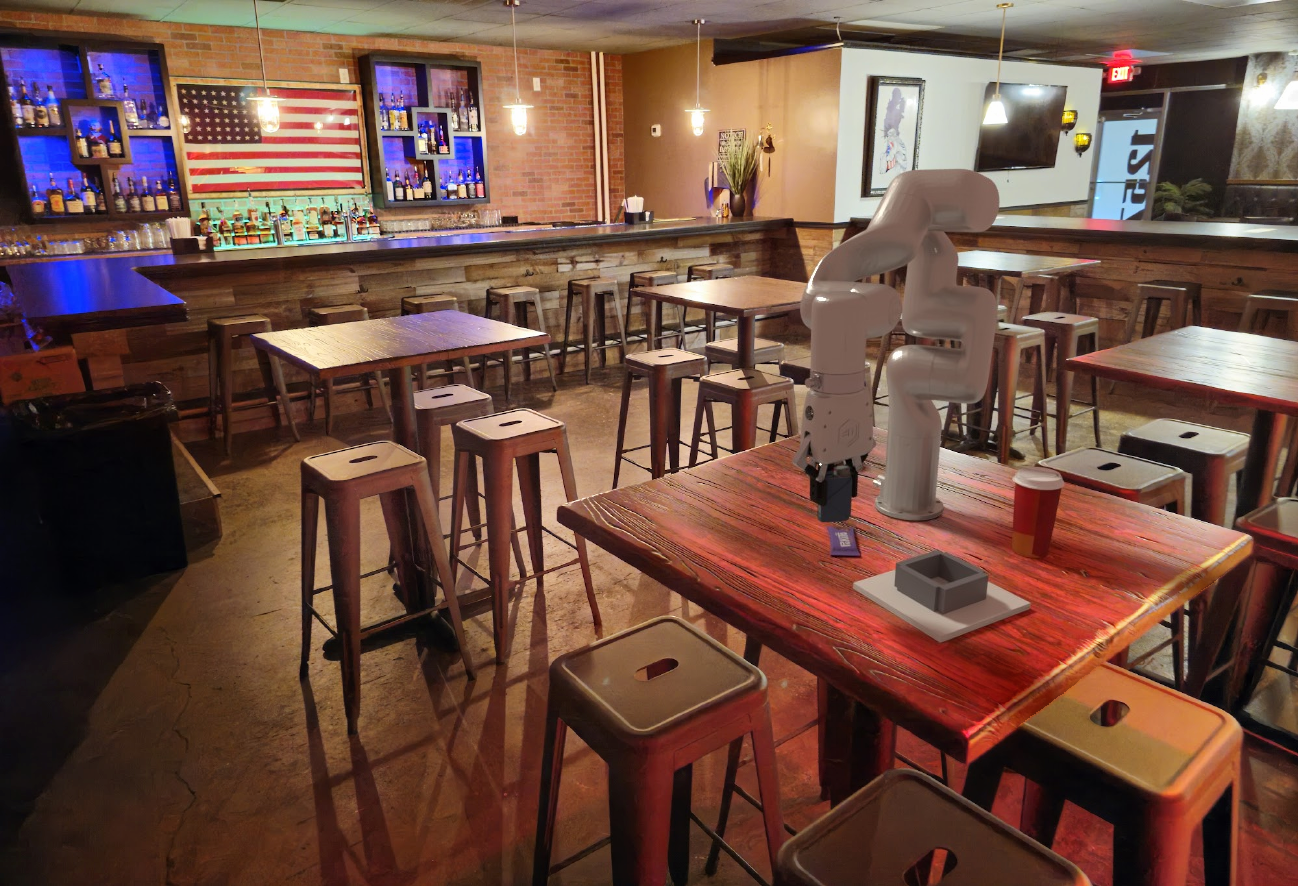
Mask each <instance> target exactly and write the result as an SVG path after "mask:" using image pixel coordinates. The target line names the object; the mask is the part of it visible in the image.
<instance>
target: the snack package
mask: <svg viewBox="0 0 1298 886" xmlns="http://www.w3.org/2000/svg"><path fill="white" fill-rule="evenodd" d="M826 530H827V532H828V535H829V541H830V542H829V543H830V552H829V555H830V556H853V557H854V556H857V557H858V556H859V557H860V556H861V554H860V552H859V550H858V546H857V543H856V538H855V533H854V531H855V527H854V526H852V527H851V526H826Z"/></svg>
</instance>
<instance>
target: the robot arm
mask: <svg viewBox="0 0 1298 886" xmlns="http://www.w3.org/2000/svg"><path fill="white" fill-rule="evenodd" d="M999 209H1000V193H999V190H998V187H997V185H996V183H995V182H994V181H993V180H992V179H991V178H989V177H988V176H985V175H983V174H981V173H980V172H976V171H974V170H971V169H965V168H941V169H940V168H939V169H938V168H937V169H936V168H935V169H934V168H932V169H912V170H907V171H904V172H902V173H899V174H898V175H897V176H895V177H894V178H893V179H892V180H891V182H890V183H889V184H888V186H887V188H886V190H885V192H884V194H883V196H882V197H881V200H880V202H879V204H878V206H877V208H876V210H875V211H874V214H873V216H872V217H871V220H870V222H869V224H868V226H867V227H866V229H865V230H863V231H861V232H858V233H857V234H856V235H853V236H852V237H850V238H849V239H847V240H846V241H844V242H842V243H840V244H839V245H838V246H836V247H834V248H832V249H831V250H830V251H829V252H827V253H826V254H825V255H824V256H823V257H822V258H821V259H820V260H819V262H818V263H817V265H816V266H815V268H814V270H813V272H812V274H811V276H810V277H809V279H808V281H807V283H806V285H805V288H804V291H803V293H802V296H801V300H800V307H799V308H800V309H799V310H800V311H799V312H800V318H801V320H802V322H803V324H804V325H805V326H806V327H807V328H808V329H809V330H810V331H811V332H810V335H811V336H810V367H809V368H810V370H809V373H810V375H809V378H806V379H805V380H804V385H805V387H806V388H807V389H809V390H807V391H806V395H805V400H804V404H803V410H802V416H801V417H802V418H801V427H800V428H801V429H800V445H799V447H798V449H797V451H796V452H795V454H794V456H793V457H792V459H791V464H793V465H794V466H796V467H797V468H798V469H800V470H801V471H802V472H803V473H804V474H806V476H807V477H808V478H809V500H810V501H811V502H813V503H815V504H816V505H817V506H818V505H820V506H822V507H823V506H826V504H827V485H828V483H827V481H826V480H824V478H825V474H826V470H827V466H828V464H831V463H836V462H840V461H842V463H843V465H845V466H848V467H850V473H851V477H852V499H854V498H857V497H858V488H859V484H858V482H859V472H861V471H862V469H863V464H864V463H865V461H866V460H867V458H868V456H869V454H871V452H872V451H873V449H875V447H876V446H877V441H876V440H875V439H874V422H873V421H874V420H873V416H874V415H873V407H872V398H871V393H870V390H869V388H868V386H865V381H866V380H865V379H866V377H865V376H866V356H867V355H866V354H867V351H866V350H867V339H874V338H879V337H882V336H885V335H887V334H889V333H890V332H892V331H893V330H894V329H895V328H896V326H897V325H898V324H899V322H900V320H901V325H902V328H903V330H904V332H905V333H906V334H908V335H910V336H913V337H918V338H924V339H934V340H937V339H938V340H947V341H948V340H949V341H958V342H961V343H962V346H963V347H962V348H955V347H954V348H953V347H945V346H938V345H937V346H935V345H924V344H907V345H902V346H899V347H897V348H895V349H894V350H893V351H892V352H891V353H890V354H889V356H888V358H887V361H886V365H885V366H886V367H885V368H886V369H885V375H886V376H885V377H886V385H887V393H888V422H887V434H886V435H887V436H886V437H887V438H886V453H885V468H884V469H885V470H884V473H880V474H878V475H877V478H875V479H874V480H873V481H872V486H873V487H875V488H878V489H879V493H880V494H878V495H877V496H876V497H875V499H874V508H876V510H878V511H879V512H880V513H881V514H883V515H885V516H887V517H888V516H889V517H891V518H894V519H898V520H904V521H926V520H932V519H936V518H938V517H939V516H941V515H942V514H943V512H944V507H945V506H944V503H943V502H942V501H941V499H939V498H938V497H937V486H938V484H937V483H938V474H939V463H940V452H941V451H940V450H941V441H942V439H941V437H942V428H943V426H942V425H943V423H942V418H941V415H940V412H939V410H938V408H937V407H936V404H935V403H934V402H933V401H939V402H948V403H956V404H964V405H965V404H966V405H967V404H970V405H971V404H976V403H978V402H980V401H981V400H982V399H983V398H984V396H985V394H986V390H987V388H988V383H989V379H990V378H989V377H990V373H991V372H990V371H991V364H992V363H991V362H992V356H993V350H994V342H995V335H996V327H997V321H998V320H997V318H998V317H997V316H998V305H997V298H996V297H995V295H994V293H993V292H992V291H991V290H990V289H987V288H986V287H981V286H973V285H958V284H957V274H958V267H959V260H960V259H959V253H958V251H957V249H956V247H955V245H954V244H953V242H952V240H951V239H950V238H949V236H948V235H947V234H946V232H948V233H952V232H954V233H982V232H985V231H987V230H989V229H990V228H991V227H992V225H993V224H994V222H995V221H996V220H997V216H998V214H999V211H1000V210H999ZM906 265H907V268H906V276H905V285H904V292H903V301H902V298H901V295H900V293H899V292H898V291H897V290H896V288H894V287H892V286H890V285H887V284H884V283H876V282H873V283H872V282H860V280H862V279H864V278H869V277H872V276H876V275H877V276H878V275H881V274H885V273H888V272H890V271H894V270H897V269H899V268H902V267H905V266H906ZM808 457H809V459H808ZM807 459H808V460H807ZM818 463H819V466H818Z"/></svg>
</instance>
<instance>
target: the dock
mask: <svg viewBox="0 0 1298 886" xmlns="http://www.w3.org/2000/svg"><path fill="white" fill-rule="evenodd" d="M989 576H990V575H989V574H987V573H986V570H984V569H982V568H979V567H978V566H976V565H974V564H972V563H970V562H968V561H966V560H963V559H962V558H960V557H958V556H956V555H953V554H951V553H950V552H947V551H945V552H943V551H941V550H939V549H937V550H933V551H931V552H930V551H929V552H927V553H923V554H920V555H917V556H914V557H911V558H907V559H904V560H901V561H898V562H895V568H894V569H893V570H890V571H885V572H883V573H879V574H876V575H874V576H871V577H868V578H865V579H861V580H857V581H854V582H853V583H852V589H853V590H855V591H856V592H858V593H860V594H862V596H864V597H866V598H868V599H869V600H871V601H873V602H874V603H875V604H877V605H879V606H880V607H882V608H884V609H885V610H887V611H889V612H891V613H892V614H893V615H895V616H896V617H898V618H900V619H901V620H903V621H905V623H908V624H909V625H911V626H912V627H914V628H916V629H918V630H919V631H921V632H922V633H924V634H926V636H929V638H930V637H931V638H932V639H934V640H935V641H937V642H938V643H940V644H941V643H943V642H947V641H949V640H952V639H954V638H957V637H959V636H961V635H964V634H967V633H969V632H973V631H976V630H978V629H979V628H980V629H981V628H984V627H985V626H988V625H991V624H994V623H997V622H999V621H1001V620H1004V619H1007V618H1009V617H1012V616H1016V615H1018V614H1020V613H1022V612H1025V611H1028V610H1030V609H1031V602H1030V601H1027V600H1026V599H1023V598H1022V597H1020V596H1018V595H1016V594H1014V593H1012V592H1010V591H1008V590H1006V589H1004V588H1002V587H1000V586H998V585H996V584H994V583H992V582H991V581H989Z"/></svg>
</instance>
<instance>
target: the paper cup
mask: <svg viewBox="0 0 1298 886" xmlns="http://www.w3.org/2000/svg"><path fill="white" fill-rule="evenodd" d="M1011 479H1012V481H1013V483H1014V497H1013V515H1012V537H1011V548H1012V549H1011V550H1012V552H1014V553H1015V554H1017V555H1018V556H1021V557H1025V558H1029V559H1043V558H1045V557H1046V556H1048V554H1049V550H1050V547H1051V546H1050V545H1051V541H1052V537H1053V532H1054V527H1055V523H1056V519H1057V512H1058V508H1059V503H1060V498H1061V494H1062V493H1061V492H1062V488H1063V487H1064V486H1065V485H1066V484H1065V481H1064V480H1063V476H1062V475H1061V473H1060V472H1059V471H1057V470H1054V469H1051V468H1047V467H1042V466H1041V467H1040V466H1026V467H1022V468H1019V469H1018V470H1017V471H1016V472H1015V473H1014V476H1013V477H1012V478H1011Z"/></svg>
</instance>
